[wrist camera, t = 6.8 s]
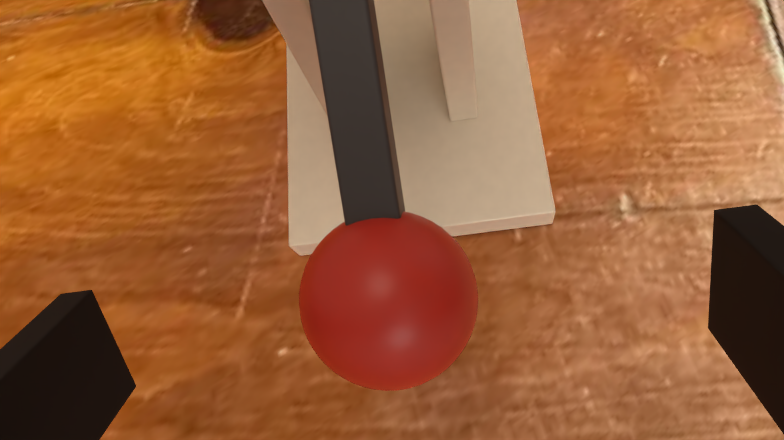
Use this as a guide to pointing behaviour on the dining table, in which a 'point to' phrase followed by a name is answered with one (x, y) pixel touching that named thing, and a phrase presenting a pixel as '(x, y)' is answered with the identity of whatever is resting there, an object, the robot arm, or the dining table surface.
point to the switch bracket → (426, 119)
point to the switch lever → (377, 232)
